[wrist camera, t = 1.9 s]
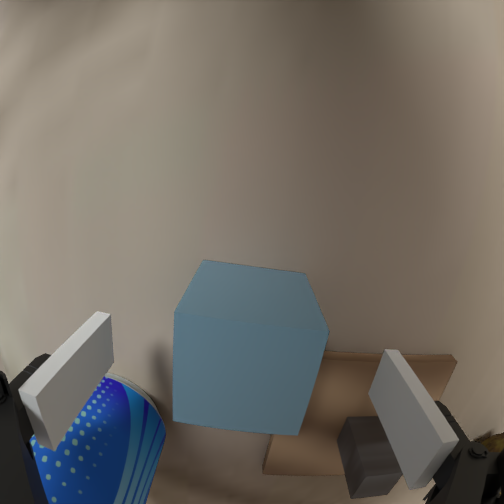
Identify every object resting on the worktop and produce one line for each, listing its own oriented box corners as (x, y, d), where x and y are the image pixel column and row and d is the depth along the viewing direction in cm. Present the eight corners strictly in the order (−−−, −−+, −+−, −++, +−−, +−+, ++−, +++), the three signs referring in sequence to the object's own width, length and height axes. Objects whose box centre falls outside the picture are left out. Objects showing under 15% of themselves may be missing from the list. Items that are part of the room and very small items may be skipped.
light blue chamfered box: (203, 259, 18) (174, 311, 11) (305, 273, 18) (329, 331, 11) (196, 346, 19) (172, 420, 13) (287, 358, 19) (297, 435, 13)
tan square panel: (292, 348, 19) (305, 422, 13) (451, 354, 19) (496, 407, 13) (262, 465, 22) (262, 529, 16) (393, 462, 22) (413, 515, 16)
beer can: (143, 358, 19) (37, 577, 4) (185, 443, 21) (145, 625, 6) (52, 365, 20) (-63, 511, 4) (98, 442, 22) (33, 583, 7)
